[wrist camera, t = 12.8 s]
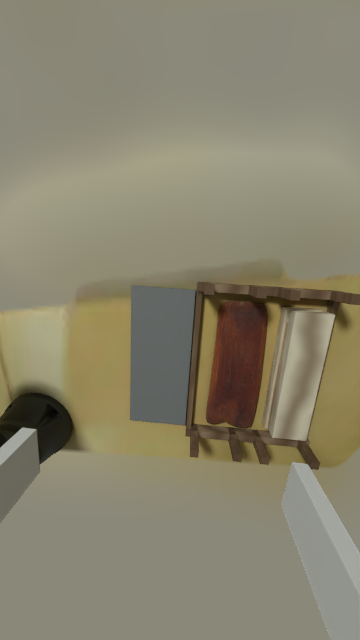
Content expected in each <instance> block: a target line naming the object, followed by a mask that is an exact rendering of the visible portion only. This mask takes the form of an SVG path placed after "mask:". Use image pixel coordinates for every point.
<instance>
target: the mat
mask: <svg viewBox="0 0 360 640" xmlns="http://www.w3.org/2000/svg"><path fill="white" fill-rule="evenodd" d="M195 292H196V290H189V289H174V288H159V287H144V286H132V291H131V395H130V420H135V421H146V422H156V423H167V424H177V425H185V421H186V408H187V395H188V382H189V369H190V356H191V344H192V331H193V318H194V305H195Z"/></svg>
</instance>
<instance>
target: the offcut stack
mask: <svg viewBox="0 0 360 640" xmlns="http://www.w3.org/2000/svg"><path fill="white" fill-rule="evenodd" d="M334 318H335V315H334V314H331V313H326V312H323V310H319V309H310V308H296V307H282V309H281V315H280V321H279V327H278V333H277V338H276V344H275V350H274V356H273V362H272V367H271V373H270V379H269V385H268V391H267V396H266V402H265V408H264V414H263V420H262V423H263V426H264V428H265V429H269V432H270V434H271V436H272V438H280V439H291V440H301V441H306V439H307V435H308V430H309V426H310V422H311V417H312V413H313V409H314V404H315V400H316V396H317V391H318V387H319V383H320V379H321V374H322V370H323V366H324V361H325V357H326V353H327V348H328V344H329V340H330V335H331V331H332V327H333V322H334Z"/></svg>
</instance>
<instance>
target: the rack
mask: <svg viewBox="0 0 360 640" xmlns="http://www.w3.org/2000/svg"><path fill="white" fill-rule="evenodd" d="M202 292H203V293H204V294H206V295H214V292H219V293H234V294H248V295H251V296H253V297H255V298H265V299H266V297H267V296H277V297H281V298H284V299H287V300H294V301H300V298H309V299H324V300H329V305H328V309H327V313H331V314H334V315H335V318H334V322H333V327H332V331H331V335H330V340H331V336H332V332H333V328H334V323H335V319H336V315H337V310H338V306H339V302H342V303H347V304H353V305H360V295H359V294H352V293H345V292H341V291H329V290H314V289H298V288H283V287H268V286H252V285H237V284H222V283H206V282H198V283H197V295H196V308H195V321H194V333H193V346H192V359H191V371H190V384H189V397H188V409H187V422H186V436H189V437H190V457H198V453H199V445H198V437H200V438H210V439H220V440H229V445H230V449H231V454H232V459H233V461H237V462H241V459H242V453H241V449H240V445H239V442H238V441H241V442H251V443H253V445H254V448H255V450H256V453H257V456H258V459H259V462H260V464H267V465H268V464H269V459H270V458H269V455H268V453H267V450H266V448H265V445H264V444H272V445H282V446H292V447H297V448H298V450H299V451H300V453H301V455H302V456H303V458H304V460H305V461H306V463H307V464H308V465H309V467H310V469H316V470H318V469H319V465H320V462H319V461H318V459H317V458H316V456H315V455H314V453H313V452H312V450H311V449H310V447H309V440H308V435H309V431H310V426H311V422H312V418H313V413H314V409H315V405H316V400H317V396H318V392H319V388H320V383H321V379H322V375H323V370H324V366H325V362H326V358H327V353H328V349H329V345H330V340H329V344H328V348H327V353H326V357H325V361H324V366H323V370H322V374H321V379H320V383H319V387H318V391H317V396H316V400H315V404H314V409H313V413H312V417H311V422H310V426H309V430H308V435H307V439H306V441H301V440H291V439H280V438H272V436H271V434H270V432H269V431H261V430H251V429H240V428H230V427H219V426H209V425H198V424H191V421H192V409H193V397H194V386H195V374H196V362H197V350H198V339H199V327H200V315H201V303H202Z"/></svg>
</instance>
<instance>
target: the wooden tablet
mask: <svg viewBox="0 0 360 640" xmlns="http://www.w3.org/2000/svg"><path fill="white" fill-rule="evenodd" d="M266 326H267V307H266V305H264V304H260V303H252V302H246V301H243V302H240V301H226V302H224V303H223V304H222V306H221V309H220V312H219V317H218V323H217V332H216V341H215V350H214V358H213V366H212V373H211V380H210V388H209V396H208V403H207V412H206V419H207V422H208V423H210V424H219V423H221V422H227V423H228V424H230V425H232V426H235V427H239V428H248V427H250V426H251V425H252V422H253V418H254V414H255V410H256V405H257V399H258V394H259V388H260V382H261V373H262V365H263V356H264V346H265V337H266Z"/></svg>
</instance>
